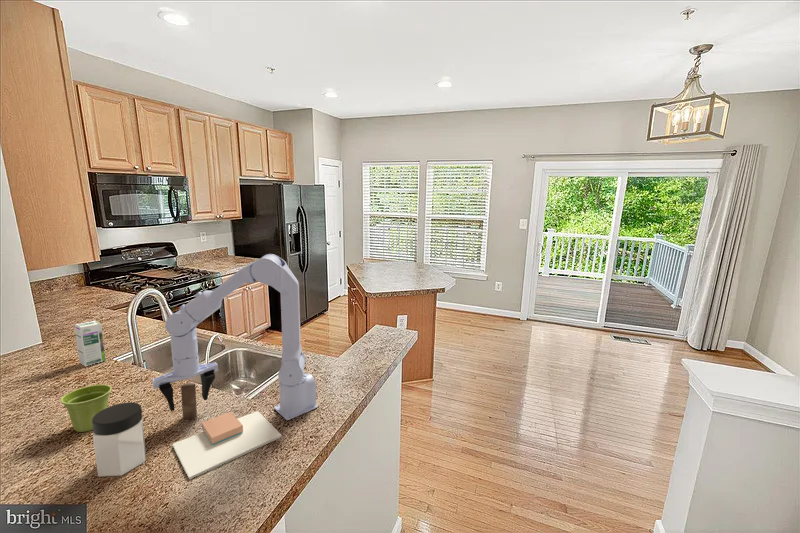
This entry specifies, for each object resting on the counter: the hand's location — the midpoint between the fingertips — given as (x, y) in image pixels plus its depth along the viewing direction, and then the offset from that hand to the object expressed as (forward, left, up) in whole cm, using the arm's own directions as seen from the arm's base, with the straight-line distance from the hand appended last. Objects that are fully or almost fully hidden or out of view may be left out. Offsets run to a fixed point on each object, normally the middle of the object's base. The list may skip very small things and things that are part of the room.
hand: (189, 403), depth 90 cm
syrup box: (+16, -59, -4) cm, 61 cm away
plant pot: (+19, -13, -4) cm, 23 cm away
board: (-4, +17, -4) cm, 18 cm away
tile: (-4, +9, -2) cm, 10 cm away
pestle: (0, 0, -4) cm, 4 cm away
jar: (+15, +9, -4) cm, 18 cm away
